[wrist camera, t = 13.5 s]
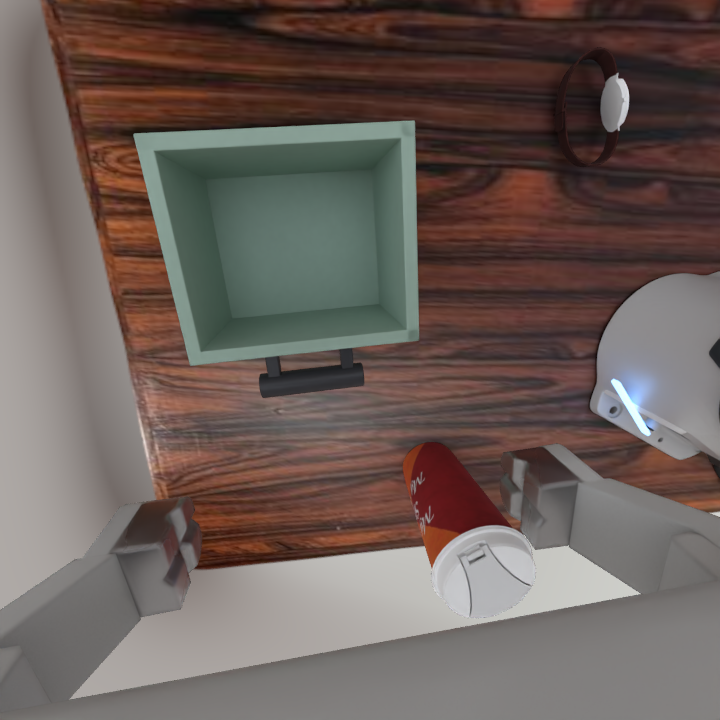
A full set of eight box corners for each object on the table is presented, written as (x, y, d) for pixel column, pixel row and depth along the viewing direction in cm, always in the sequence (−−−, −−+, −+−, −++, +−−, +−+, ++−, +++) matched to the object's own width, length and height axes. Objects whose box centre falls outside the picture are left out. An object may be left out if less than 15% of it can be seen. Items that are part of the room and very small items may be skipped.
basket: (379, 159, 28) (388, 344, 33) (194, 169, 27) (233, 361, 32) (415, 120, 19) (420, 387, 24) (132, 133, 17) (201, 414, 22)
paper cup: (380, 454, 37) (419, 575, 24) (446, 420, 37) (524, 522, 23) (411, 506, 40) (461, 640, 26) (473, 474, 39) (556, 593, 26)
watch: (605, 161, 30) (643, 152, 27) (553, 177, 30) (584, 170, 27) (601, 53, 28) (642, 27, 24) (544, 70, 28) (577, 47, 24)
